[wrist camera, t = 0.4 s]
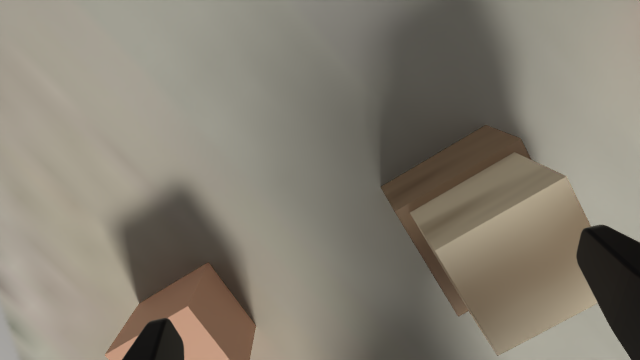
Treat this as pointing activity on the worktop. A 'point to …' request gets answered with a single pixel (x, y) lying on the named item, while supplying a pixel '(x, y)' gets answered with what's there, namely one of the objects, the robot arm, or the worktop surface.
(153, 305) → the terracotta block
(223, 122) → the worktop surface
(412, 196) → the tower base
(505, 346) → the tower middle
